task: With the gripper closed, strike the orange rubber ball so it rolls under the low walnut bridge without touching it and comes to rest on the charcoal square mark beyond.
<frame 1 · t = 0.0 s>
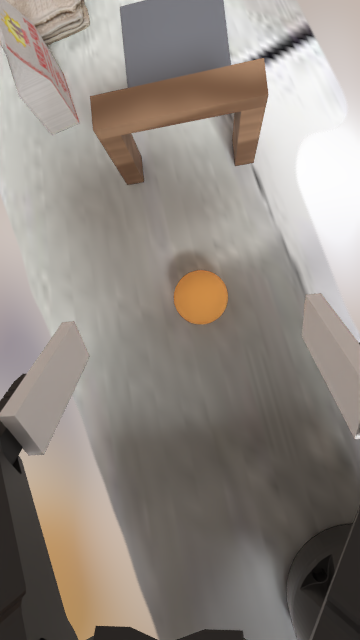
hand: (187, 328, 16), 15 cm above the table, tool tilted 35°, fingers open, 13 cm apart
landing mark: (174, 44, 33), on the table
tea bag: (59, 106, 35), on the table
bridge: (187, 161, 32), on the table
ball: (200, 297, 29), on the table
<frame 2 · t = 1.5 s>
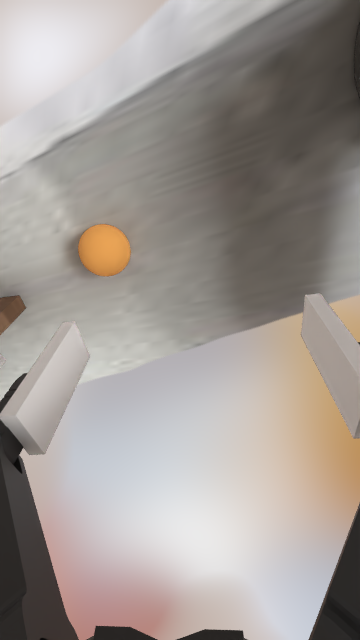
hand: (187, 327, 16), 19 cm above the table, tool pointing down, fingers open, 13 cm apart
ball: (104, 250, 31), on the table
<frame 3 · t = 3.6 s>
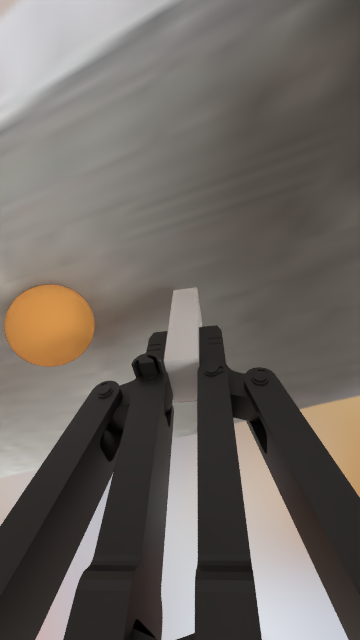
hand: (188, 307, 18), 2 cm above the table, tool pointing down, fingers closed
ball: (52, 325, 19), on the table
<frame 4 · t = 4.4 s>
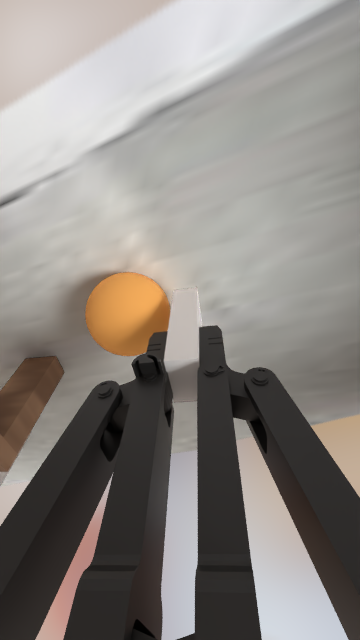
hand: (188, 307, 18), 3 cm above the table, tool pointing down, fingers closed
bridge: (12, 308, 22), on the table
ball: (129, 314, 19), on the table
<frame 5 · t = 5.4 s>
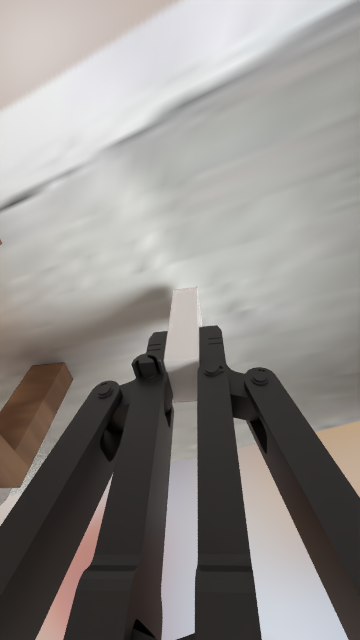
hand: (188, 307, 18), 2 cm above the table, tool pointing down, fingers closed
bridge: (19, 313, 21), on the table
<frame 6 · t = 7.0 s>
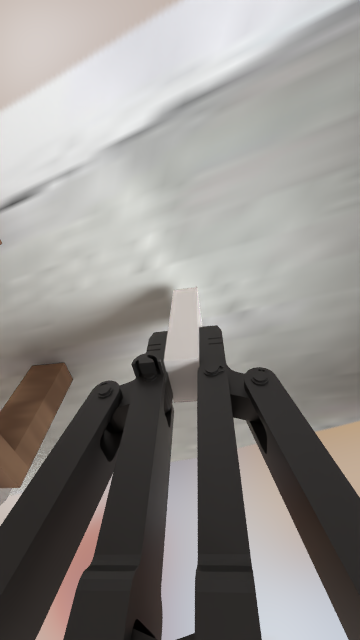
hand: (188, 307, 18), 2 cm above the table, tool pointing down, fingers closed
bridge: (19, 313, 21), on the table
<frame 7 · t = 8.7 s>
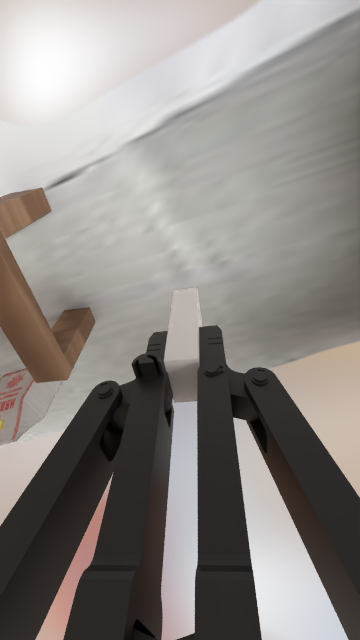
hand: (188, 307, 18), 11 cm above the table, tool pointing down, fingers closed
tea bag: (34, 377, 39), on the table
bridge: (58, 266, 29), on the table
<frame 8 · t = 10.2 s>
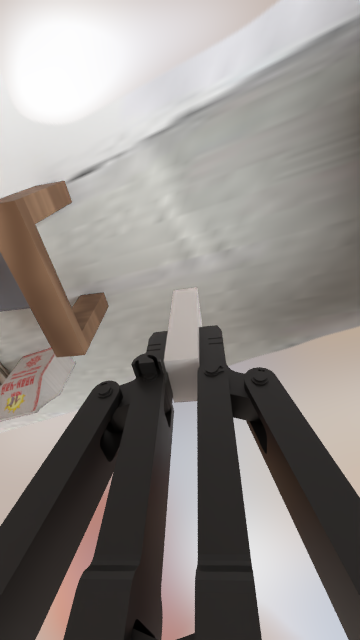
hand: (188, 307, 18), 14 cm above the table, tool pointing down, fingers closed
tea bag: (50, 358, 41), on the table
bridge: (76, 253, 32), on the table
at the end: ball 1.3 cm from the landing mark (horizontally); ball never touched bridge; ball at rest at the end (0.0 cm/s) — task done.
